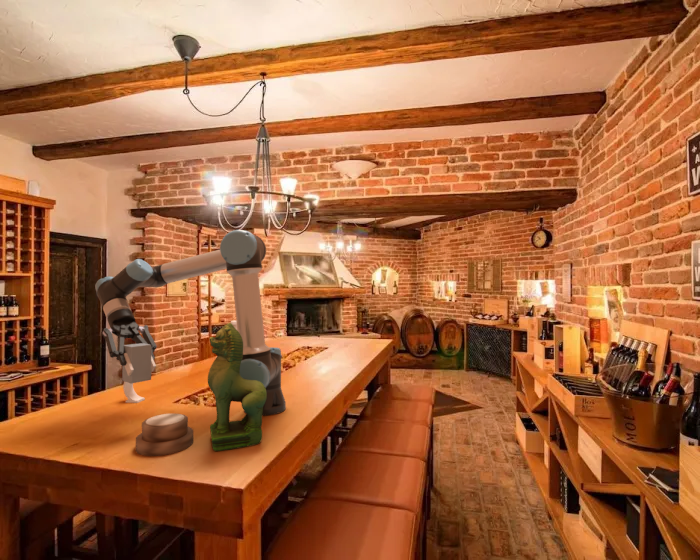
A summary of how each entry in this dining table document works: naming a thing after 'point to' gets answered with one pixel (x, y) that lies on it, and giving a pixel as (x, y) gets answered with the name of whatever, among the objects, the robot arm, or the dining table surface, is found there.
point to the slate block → (138, 363)
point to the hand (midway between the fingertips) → (142, 370)
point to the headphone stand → (131, 393)
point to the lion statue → (234, 394)
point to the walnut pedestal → (164, 435)
